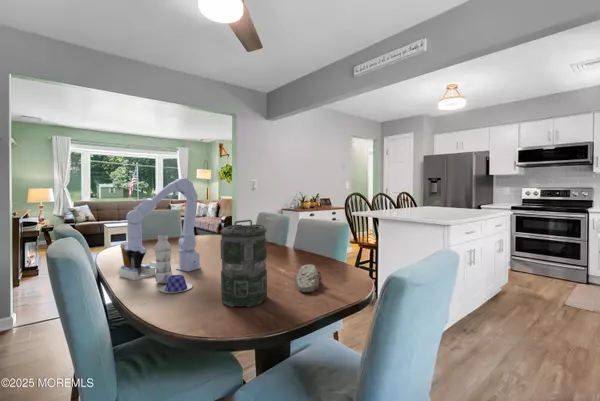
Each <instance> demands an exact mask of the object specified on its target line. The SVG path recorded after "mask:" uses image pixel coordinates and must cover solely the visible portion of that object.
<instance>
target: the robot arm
mask: <svg viewBox="0 0 600 401" xmlns="http://www.w3.org/2000/svg"><path fill="white" fill-rule="evenodd" d="M177 192H179V194H180V193H181V194H182V195H183V197H185V199H186V200H185V205H184V217H183V224H182V225H183V226H182V230H181V233H180V237H179V239H178V243H177V244H178V246H179V247H180V248H179V250H178V253H179V254H178V257H179V258H178V259H179V267H175V270H179V271H184V272H191V271H195V270H198V269H202V266H200V265H201V264H200V261H201V259H200V256H201V255H200V254H199V252H198V251H196V249H195V248H196V246H197V243H196V238H195V237H196V236H195V229H194V228H195V224H196V222H195V221H196V213H197V205H198V194H197V191H196V189H195V187H194V184H193V182H192V181H191V180H190V179H188V178H186V177H181V178H176V179H175V180H174V181H172V182H170V183H168V184H167V185H166V186H165V187H163V188H162V189H161V190H160V191H158V193H156V194H155V195H154V196H153V197H152V198H146V199H145V198H143V199H142V200H141V202H140V203H139V204H138V205H137V206H133V208H132V209H133V210H130V211H129V212H127V214H126V216H125V219H126V221H127V224H126V225H127V230H126V231H127V235H126V236H127V242H128V245H127V246H124V250H128V252H125V254H126V256H127V258H128V260H129V263H130V266H131V257H133V259H134V265H135V268H141V264H142V265H143V259H144V257H145V256H146V253H147V252H148V250H147V247H144V246H143V229H142V228H143V227H142V221H143V218H145V217H146V216H148V215H150V213H152V212H153V211H154V210H155V209H156V208H157V205H158V203H159V202H161V201H162V200H163V199H165V198H166V197H168V196H169V195H170V194H172V193H177Z"/></svg>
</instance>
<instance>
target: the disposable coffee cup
mask: <svg viewBox="0 0 600 401" xmlns="http://www.w3.org/2000/svg"><path fill="white" fill-rule="evenodd" d="M127 245H128V241H125V242H121V243H120V246H119V247H120V249H121V254H122V255H121V256H122V262H123V266H126V268H130V269H131V266H130V263H129V260H128V258H127V256H126V254H125V252H128V250H124V246H127Z"/></svg>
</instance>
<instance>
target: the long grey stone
mask: <svg viewBox="0 0 600 401" xmlns="http://www.w3.org/2000/svg"><path fill="white" fill-rule="evenodd" d="M318 272H319V271H318V268H317V267H316V265H315V264H304V265H301V267H300V268H299V271H298V272H297V275H296V276H295V283H296V286H297V289H298V290H299V291H300V292H302V293H314V292H315V291H316V290H318V289H319V285H320V278H321V274H320V273H318Z"/></svg>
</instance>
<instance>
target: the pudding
mask: <svg viewBox="0 0 600 401" xmlns="http://www.w3.org/2000/svg"><path fill="white" fill-rule="evenodd" d="M192 288H193V284H191V283H187V281H186V278H185V275H183V274H172V276H169V278H168V280H167V283H165V285H164V286H162V287H160V288H159V291H160V292H161V293H164V294H174V293H175V294H176V293H181V292H186V291H188V290H190V289H192Z"/></svg>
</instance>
